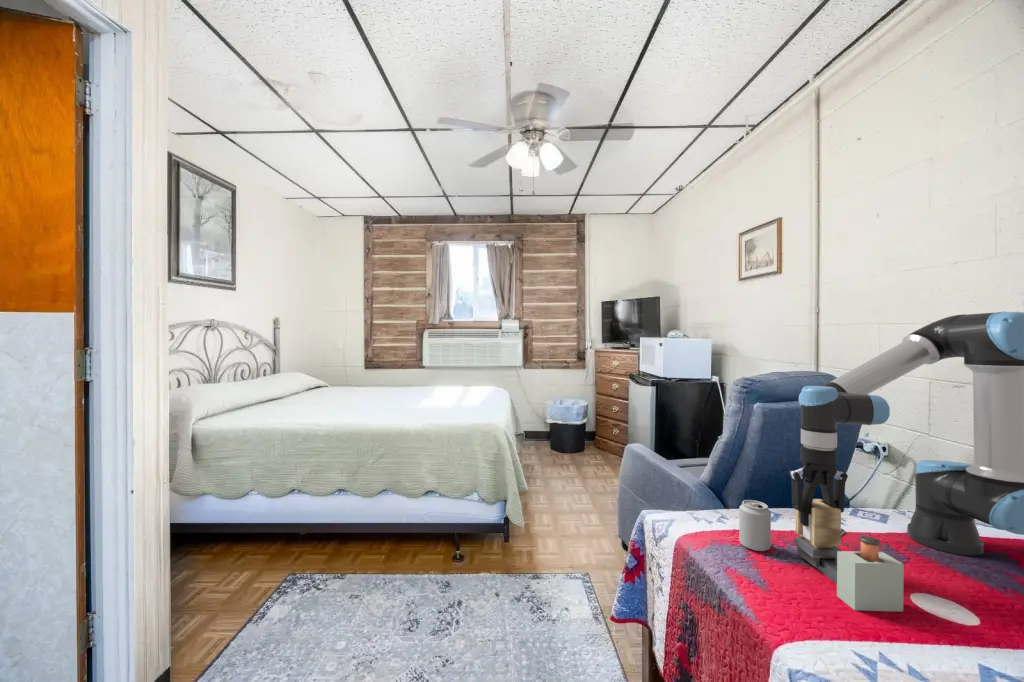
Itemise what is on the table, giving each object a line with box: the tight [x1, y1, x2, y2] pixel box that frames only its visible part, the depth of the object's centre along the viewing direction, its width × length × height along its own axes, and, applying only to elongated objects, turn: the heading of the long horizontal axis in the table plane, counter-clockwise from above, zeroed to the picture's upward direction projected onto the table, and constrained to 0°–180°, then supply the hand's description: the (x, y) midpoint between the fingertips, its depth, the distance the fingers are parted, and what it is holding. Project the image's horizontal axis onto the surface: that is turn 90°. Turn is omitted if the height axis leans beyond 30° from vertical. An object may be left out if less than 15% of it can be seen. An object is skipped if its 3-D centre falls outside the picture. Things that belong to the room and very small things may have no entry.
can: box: [738, 499, 772, 552], centre depth 115 cm, size 8×8×12 cm
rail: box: [805, 558, 837, 585], centre depth 101 cm, size 3×17×3 cm, turn 179°
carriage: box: [793, 498, 843, 569], centre depth 106 cm, size 7×7×14 cm
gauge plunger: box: [858, 534, 881, 561], centre depth 90 cm, size 3×3×4 cm
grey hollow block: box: [836, 550, 905, 613], centre depth 90 cm, size 10×5×10 cm, turn 89°
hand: (817, 538), depth 106 cm, fingers closed on carriage, 4 cm apart
